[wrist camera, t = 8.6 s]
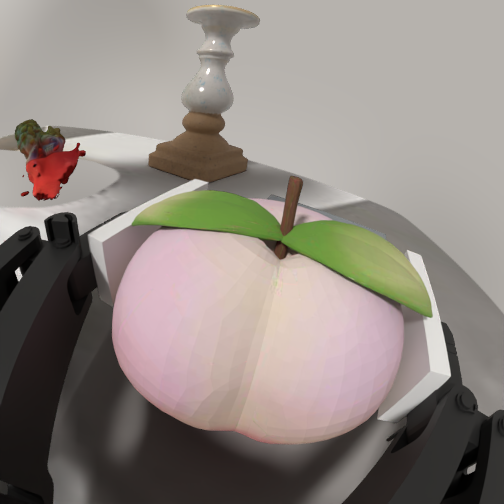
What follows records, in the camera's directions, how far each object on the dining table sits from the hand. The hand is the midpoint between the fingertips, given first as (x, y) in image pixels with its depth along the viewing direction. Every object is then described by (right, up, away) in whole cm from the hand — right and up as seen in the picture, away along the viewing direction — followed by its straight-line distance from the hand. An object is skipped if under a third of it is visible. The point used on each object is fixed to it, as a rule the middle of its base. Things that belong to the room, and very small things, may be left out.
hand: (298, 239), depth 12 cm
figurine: (-26, +6, +13) cm, 30 cm away
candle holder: (-10, +12, +27) cm, 31 cm away
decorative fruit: (-3, -7, 0) cm, 8 cm away
